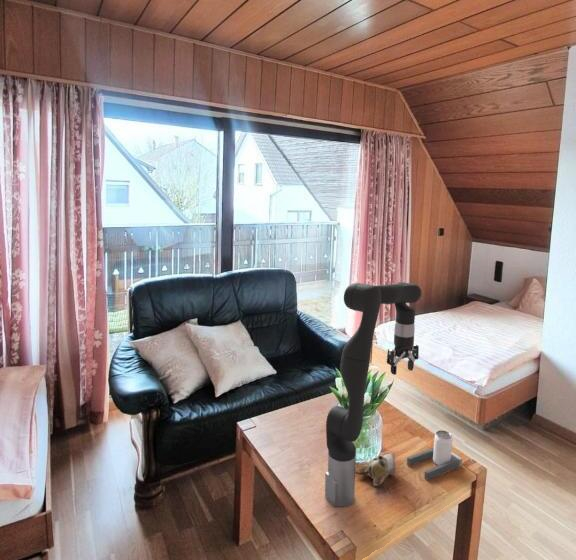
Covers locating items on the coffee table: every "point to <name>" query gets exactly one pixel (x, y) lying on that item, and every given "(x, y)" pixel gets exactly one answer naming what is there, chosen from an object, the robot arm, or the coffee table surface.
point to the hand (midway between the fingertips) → (402, 371)
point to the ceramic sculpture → (379, 468)
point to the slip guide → (438, 470)
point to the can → (442, 447)
